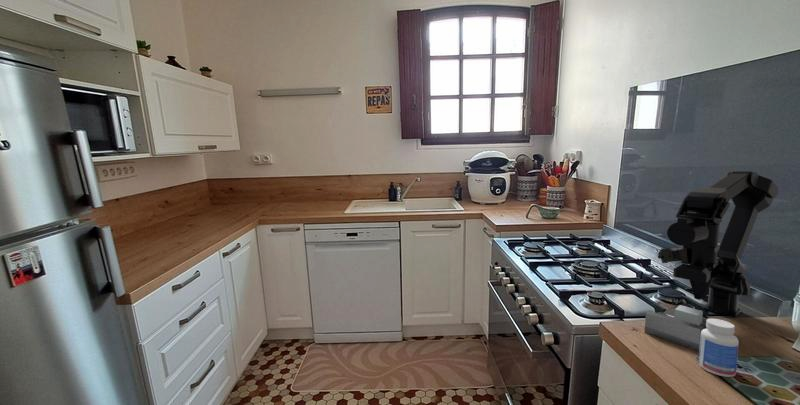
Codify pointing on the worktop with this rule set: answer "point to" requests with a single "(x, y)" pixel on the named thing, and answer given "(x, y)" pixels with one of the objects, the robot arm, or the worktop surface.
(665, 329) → the gauge base
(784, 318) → the worktop surface
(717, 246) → the robot arm
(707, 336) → the pill bottle
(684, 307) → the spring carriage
